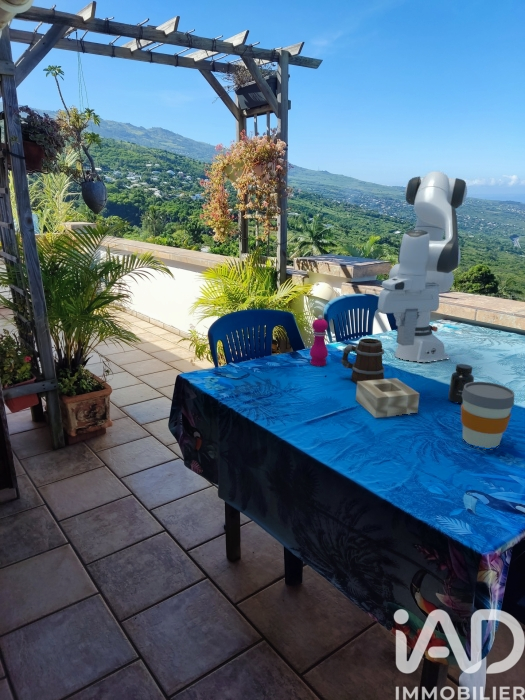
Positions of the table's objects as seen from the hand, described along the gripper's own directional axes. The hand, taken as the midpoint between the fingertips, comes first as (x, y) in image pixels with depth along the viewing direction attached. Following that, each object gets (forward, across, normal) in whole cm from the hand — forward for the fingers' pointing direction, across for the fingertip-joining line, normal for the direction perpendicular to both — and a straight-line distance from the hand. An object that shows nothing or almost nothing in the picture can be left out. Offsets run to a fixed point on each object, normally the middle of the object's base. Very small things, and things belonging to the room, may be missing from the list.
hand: (406, 325), depth 153 cm
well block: (+24, +10, +9) cm, 27 cm away
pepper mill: (+24, +16, -36) cm, 46 cm away
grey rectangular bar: (+6, 0, 0) cm, 6 cm away
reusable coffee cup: (+24, -4, +36) cm, 43 cm away
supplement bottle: (+24, -16, +10) cm, 30 cm away
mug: (+24, +7, -15) cm, 29 cm away
